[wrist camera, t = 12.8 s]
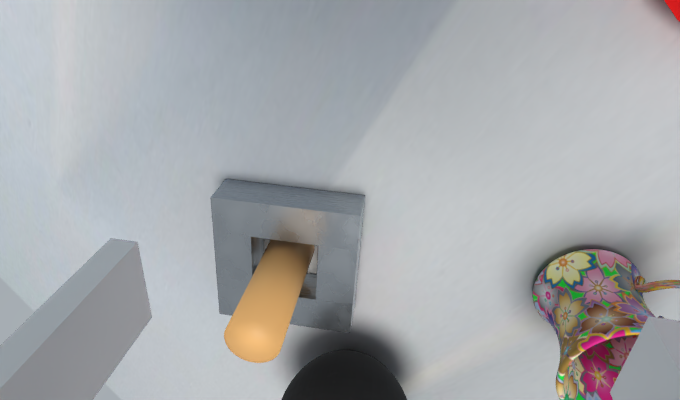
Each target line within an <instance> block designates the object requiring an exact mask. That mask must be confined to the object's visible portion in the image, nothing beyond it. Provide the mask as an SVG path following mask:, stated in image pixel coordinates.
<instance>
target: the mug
mask: <svg viewBox="0 0 680 400" xmlns="http://www.w3.org/2000/svg"><path fill="white" fill-rule="evenodd" d="M644 283H645V279H644V278H643V277H642V276H641V275H640V273H639V271H638V269H637V268H636V267H635V265H634V264H632V263H631V262H630V261H629V260H628V259H626V258H625V257H623V256H621V255H619V254H617V253H614V252H611V251H606V250H599V249H588V250H579V251H575V252H571V253H568V254H566V255H563V256H561V257H559V258H557V259H556V260H554V261H553V262H551V263H550V264H549V265H547V266H546V267H545V268H544V269H543V271H542V272H541V273H540V274H539V276H538V278H537V279H536V282H535V284H534V288H533V301H534V305H535V307H536V309H537V311H538V313H539V314H540V315H541V316H542V317H543V319H545V320H546V321H547V322H548V323H550V324H551V325H552V326H553V328H554V329H555V331H556V334H557V336H558V339H559V344H560V364H559V368H558V372H557V376H556V390H557V394H558V397H559V399H560V400H613V399H612V396H611V394H610V391H611V389H612V387H613V385H614V383H615V381H616V379H617V377H618V375H619V373H620V371H621V369H622V367H623V365H624V363H625V362H626V360H627V358H628V356H629V354H630V352H631V350H632V348H633V346H634V344H635V342H636V340H637V338H638V336H639V334H640V332H641V330H642V328H643V326H644V324H645V322H646V320H647V318H648V316H650V317H655V316H654V315H653V314H652V313H651V311H650V310H649V309H648V307H647V306H646V304H645V302H644V299H643V296H642V293H644V292H650V291H655V290H660V289H667V288H680V280H663V281H656V282H651V283H646V284H644ZM658 318H664V317H662V316H659V317H658ZM664 319H665V318H664Z"/></svg>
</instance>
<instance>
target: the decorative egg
mask: <svg viewBox="0 0 680 400" xmlns="http://www.w3.org/2000/svg"><path fill="white" fill-rule="evenodd" d="M282 400H407V399H406V396H405V394H404V392H403V390H402V388H401V386H400V384H399V383H398V381H397V379H396V378H395V377H394V375H393V374H392V373H391V372H390V371H389V370H388V369H387V368H386V367H385V366H384V365H383V364H382V363H381V362H379V361H378V360H376V359H375V358H373V357H371V356H369V355H367V354H364V353H361V352H357V351H351V350H340V351H334V352H330V353H327V354H324V355H322V356H319V357H318V358H316V359H314V360H313V361H311V362H310V363H308V364H307V365H306V366H305V367H304V368H303V369H302V370H301V371H300V372H299V373H298V374H297V375H296V376H295V377H294V379H293V380H292V381H291V383H290V384H289V386H288V388H287V389H286V391H285V393H284V395H283V398H282Z"/></svg>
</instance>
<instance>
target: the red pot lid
mask: <svg viewBox="0 0 680 400" xmlns="http://www.w3.org/2000/svg"><path fill="white" fill-rule="evenodd" d="M664 1H665V2H666V4H667V5H668V7H669V8H670V10H671V11H672V13H673V14H674V16H675V17H676V18H677V20H678V21H680V0H664Z"/></svg>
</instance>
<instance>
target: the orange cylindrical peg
mask: <svg viewBox="0 0 680 400" xmlns="http://www.w3.org/2000/svg"><path fill="white" fill-rule="evenodd" d="M313 253H314V245H310V244H303V243H295V242H287V241H280V240H272V239H271V240H270V242H269V244H268V246H267V248H266V250H265V252H264V254H263V256H262V258H261V260H260V262H259V264H258V266H257V268H256V270H255V272H254V274H253V276H252V278H251V280H250V282H249V284H248V286H247V288H246V290H245V292H244V294H243V296H242V298H241V300H240V302H239V304H238V306H237V308H236V310H235V312H234V314H233V316H232V318H231V320H230V322H229V324H228V325H227V327H226V330H225V333H224V339H225V342H226V345H227V346H228V348H229V349H230V350H231V351H232V352H233V353H234V354H235V355H236V356H238V357H240V358H241V359H244V360H246V361H249V362H255V363H263V362H268V361H270V360H273V359H274V358H275V357H276V356H277V355H278V354H279V352H280V350H281V347H282V344H283V341H284V338H285V335H286V332H287V329H288V326H289V323H290V320H291V318H292V315H293V312H294V309H295V306H296V303H297V300H298V297H299V294H300V291H301V288H302V285H303V282H304V279H305V276H306V274H307V271H308V268H309V265H310V262H311V259H312V256H313Z"/></svg>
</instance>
